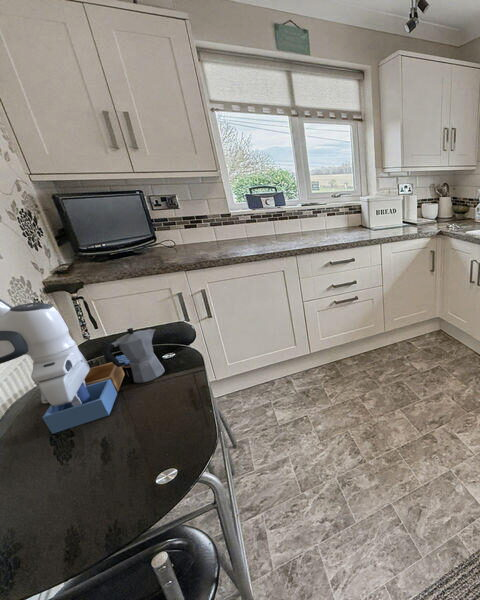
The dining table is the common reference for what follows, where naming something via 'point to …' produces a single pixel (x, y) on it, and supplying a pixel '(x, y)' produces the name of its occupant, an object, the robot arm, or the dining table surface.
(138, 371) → the coffeepot
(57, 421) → the blue bin
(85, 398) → the blue peg
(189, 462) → the dining table surface
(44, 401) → the rook chess piece
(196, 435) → the dining table surface
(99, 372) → the oak bin
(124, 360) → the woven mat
